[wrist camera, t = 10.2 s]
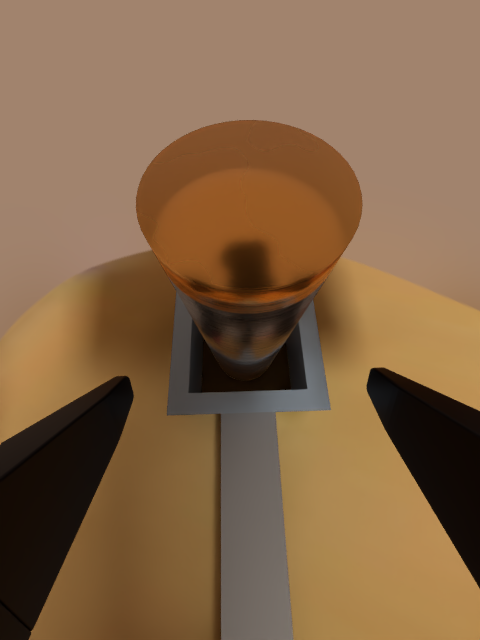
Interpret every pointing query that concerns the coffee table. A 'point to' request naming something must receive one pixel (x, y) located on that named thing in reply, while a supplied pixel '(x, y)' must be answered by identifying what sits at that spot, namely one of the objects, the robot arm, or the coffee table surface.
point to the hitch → (250, 473)
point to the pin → (248, 231)
